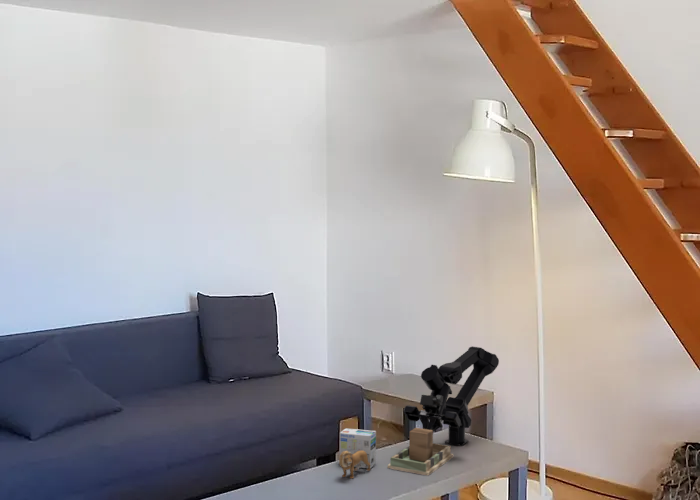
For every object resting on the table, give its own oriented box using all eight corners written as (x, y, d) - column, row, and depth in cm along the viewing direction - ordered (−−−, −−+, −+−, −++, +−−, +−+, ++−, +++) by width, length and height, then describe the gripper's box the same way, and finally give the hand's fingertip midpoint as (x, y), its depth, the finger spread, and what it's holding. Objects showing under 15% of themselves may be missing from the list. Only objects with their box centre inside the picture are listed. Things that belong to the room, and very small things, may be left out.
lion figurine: (349, 483, 251) (349, 454, 250) (334, 480, 254) (334, 451, 253) (374, 468, 264) (374, 440, 263) (359, 465, 267) (359, 437, 266)
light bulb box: (376, 463, 270) (377, 430, 269) (370, 469, 263) (371, 435, 263) (344, 460, 273) (345, 427, 272) (338, 465, 266) (339, 432, 266)
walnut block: (415, 454, 274) (415, 427, 274) (432, 457, 272) (432, 430, 271) (409, 458, 270) (409, 431, 269) (426, 461, 267) (426, 434, 267)
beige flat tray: (414, 450, 284) (414, 440, 283) (453, 457, 277) (453, 446, 277) (387, 468, 265) (387, 457, 265) (428, 475, 259) (428, 464, 258)
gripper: (406, 381, 281) (391, 421, 272) (458, 388, 272) (444, 429, 263) (415, 399, 288) (401, 439, 279) (466, 406, 279) (453, 448, 270)
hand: (424, 438), depth 273 cm, fingers closed, pressing on walnut block
